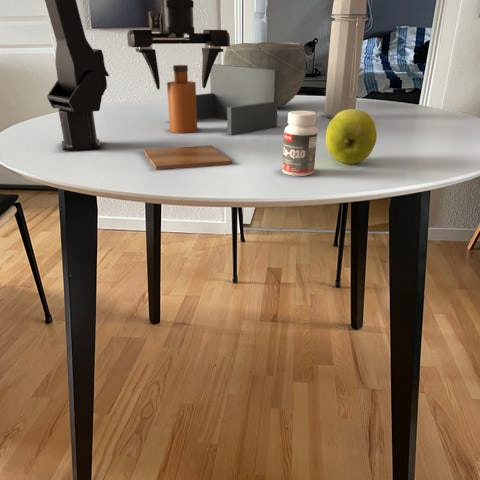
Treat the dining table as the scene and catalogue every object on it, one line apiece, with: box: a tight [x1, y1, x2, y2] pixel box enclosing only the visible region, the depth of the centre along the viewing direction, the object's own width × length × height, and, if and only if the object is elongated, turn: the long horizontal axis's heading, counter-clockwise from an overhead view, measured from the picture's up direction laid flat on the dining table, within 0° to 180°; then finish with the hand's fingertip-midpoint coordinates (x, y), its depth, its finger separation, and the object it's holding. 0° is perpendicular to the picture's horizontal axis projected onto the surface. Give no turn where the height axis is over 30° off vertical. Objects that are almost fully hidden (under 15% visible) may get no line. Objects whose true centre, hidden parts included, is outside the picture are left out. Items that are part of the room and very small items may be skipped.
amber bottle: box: [166, 64, 198, 134], centre depth 100 cm, size 6×6×12 cm
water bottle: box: [323, 0, 369, 119], centre depth 111 cm, size 9×8×25 cm
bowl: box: [223, 41, 307, 107], centre depth 127 cm, size 21×21×15 cm
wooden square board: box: [143, 144, 232, 171], centre depth 82 cm, size 12×12×1 cm
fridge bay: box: [196, 63, 279, 136], centre depth 106 cm, size 13×20×11 cm, turn 43°
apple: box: [325, 108, 378, 165], centre depth 78 cm, size 8×9×8 cm
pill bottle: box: [282, 110, 318, 177], centre depth 72 cm, size 5×5×8 cm
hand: (181, 88), depth 99 cm, fingers open, 9 cm apart
